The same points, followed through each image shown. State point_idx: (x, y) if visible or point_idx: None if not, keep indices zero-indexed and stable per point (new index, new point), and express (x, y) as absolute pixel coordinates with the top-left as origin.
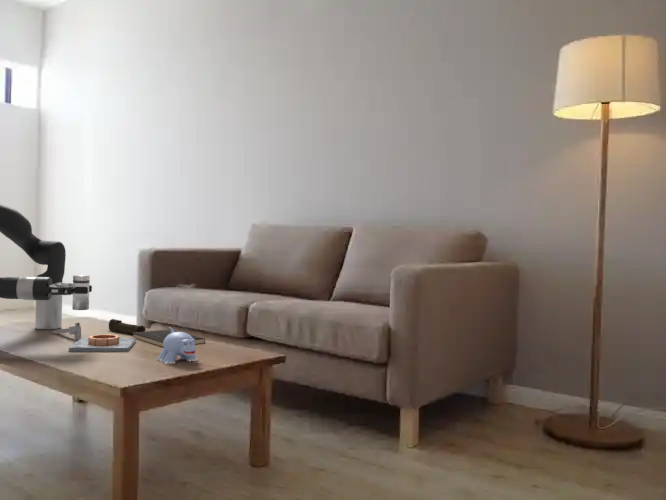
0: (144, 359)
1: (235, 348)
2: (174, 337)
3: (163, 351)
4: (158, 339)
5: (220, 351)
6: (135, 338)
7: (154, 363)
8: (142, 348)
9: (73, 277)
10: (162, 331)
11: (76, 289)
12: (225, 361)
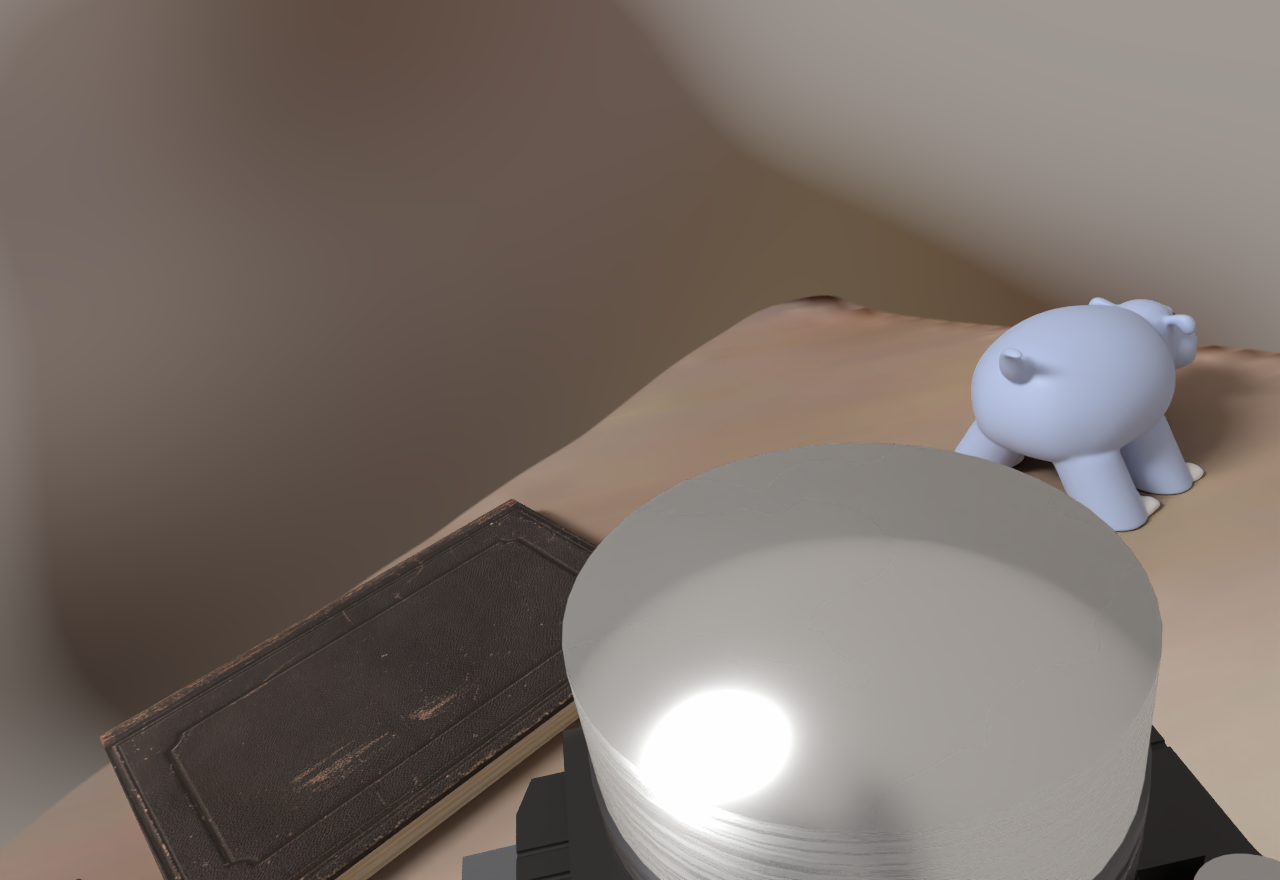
0: (1154, 587)
1: (660, 405)
2: (1149, 332)
3: (1122, 462)
4: None
5: (751, 421)
6: (480, 853)
7: (1225, 515)
8: None
9: (1117, 788)
10: (202, 751)
11: (1232, 851)
12: (975, 360)
